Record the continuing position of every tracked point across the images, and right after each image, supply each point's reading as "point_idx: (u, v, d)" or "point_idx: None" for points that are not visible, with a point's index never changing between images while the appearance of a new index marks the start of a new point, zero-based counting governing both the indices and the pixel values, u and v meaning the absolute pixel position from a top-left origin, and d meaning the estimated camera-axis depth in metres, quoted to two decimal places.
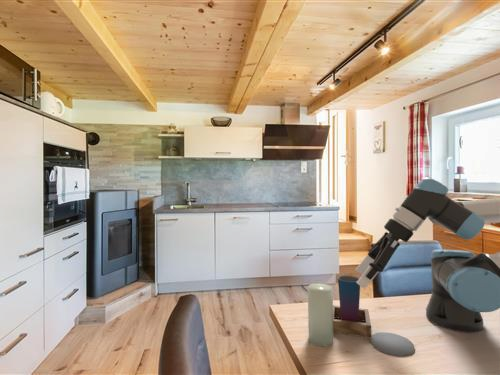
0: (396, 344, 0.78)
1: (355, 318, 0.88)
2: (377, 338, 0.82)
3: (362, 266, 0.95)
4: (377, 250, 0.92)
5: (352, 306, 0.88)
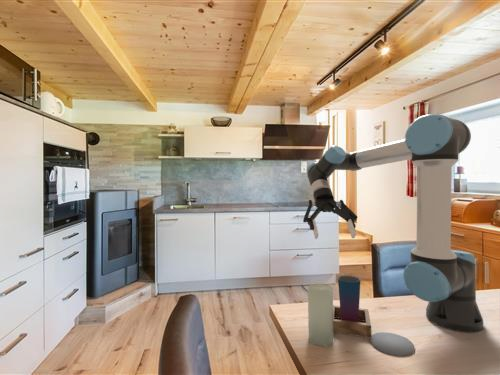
0: (396, 344, 0.78)
1: (355, 318, 0.88)
2: (377, 338, 0.82)
3: (350, 230, 1.04)
4: (340, 214, 1.09)
5: (352, 306, 0.88)
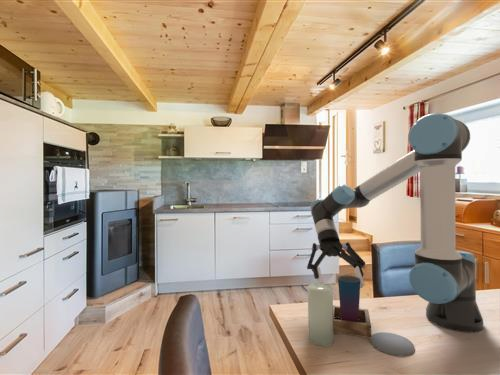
0: (396, 344, 0.78)
1: (355, 318, 0.88)
2: (377, 338, 0.82)
3: None
4: (347, 259, 1.02)
5: (352, 306, 0.88)
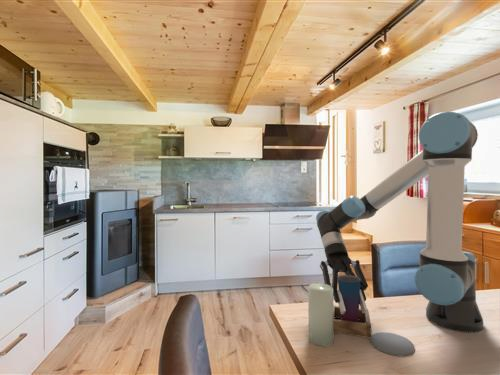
0: (396, 344, 0.78)
1: (355, 318, 0.88)
2: (377, 338, 0.82)
3: (360, 303, 0.89)
4: None
5: (352, 306, 0.88)
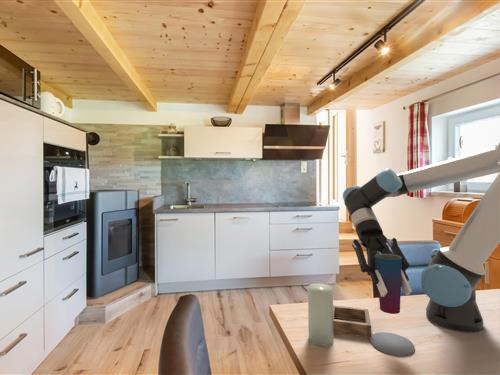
0: (396, 344, 0.78)
1: (397, 301, 0.77)
2: (377, 338, 0.82)
3: (402, 284, 0.78)
4: None
5: (394, 287, 0.77)
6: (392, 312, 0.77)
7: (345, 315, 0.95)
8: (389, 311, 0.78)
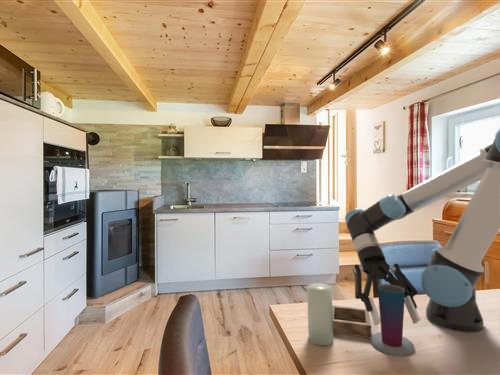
0: None
1: (399, 334, 0.77)
2: (377, 338, 0.82)
3: (410, 312, 0.79)
4: None
5: (396, 320, 0.77)
6: (394, 345, 0.77)
7: (345, 315, 0.95)
8: (391, 344, 0.77)
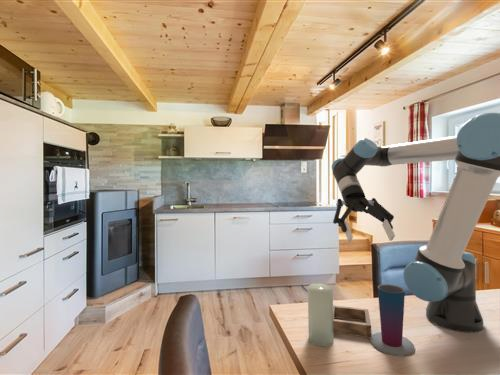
0: None
1: (399, 334, 0.77)
2: (377, 338, 0.82)
3: (387, 232, 0.93)
4: (374, 214, 0.98)
5: (396, 320, 0.76)
6: (394, 345, 0.77)
7: (345, 315, 0.95)
8: (391, 344, 0.77)
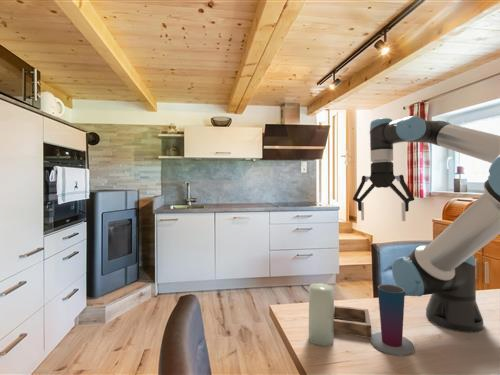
0: None
1: (399, 334, 0.77)
2: (377, 338, 0.82)
3: (402, 213, 1.02)
4: (396, 192, 1.02)
5: (396, 320, 0.76)
6: (394, 345, 0.77)
7: (345, 315, 0.95)
8: (391, 344, 0.77)
